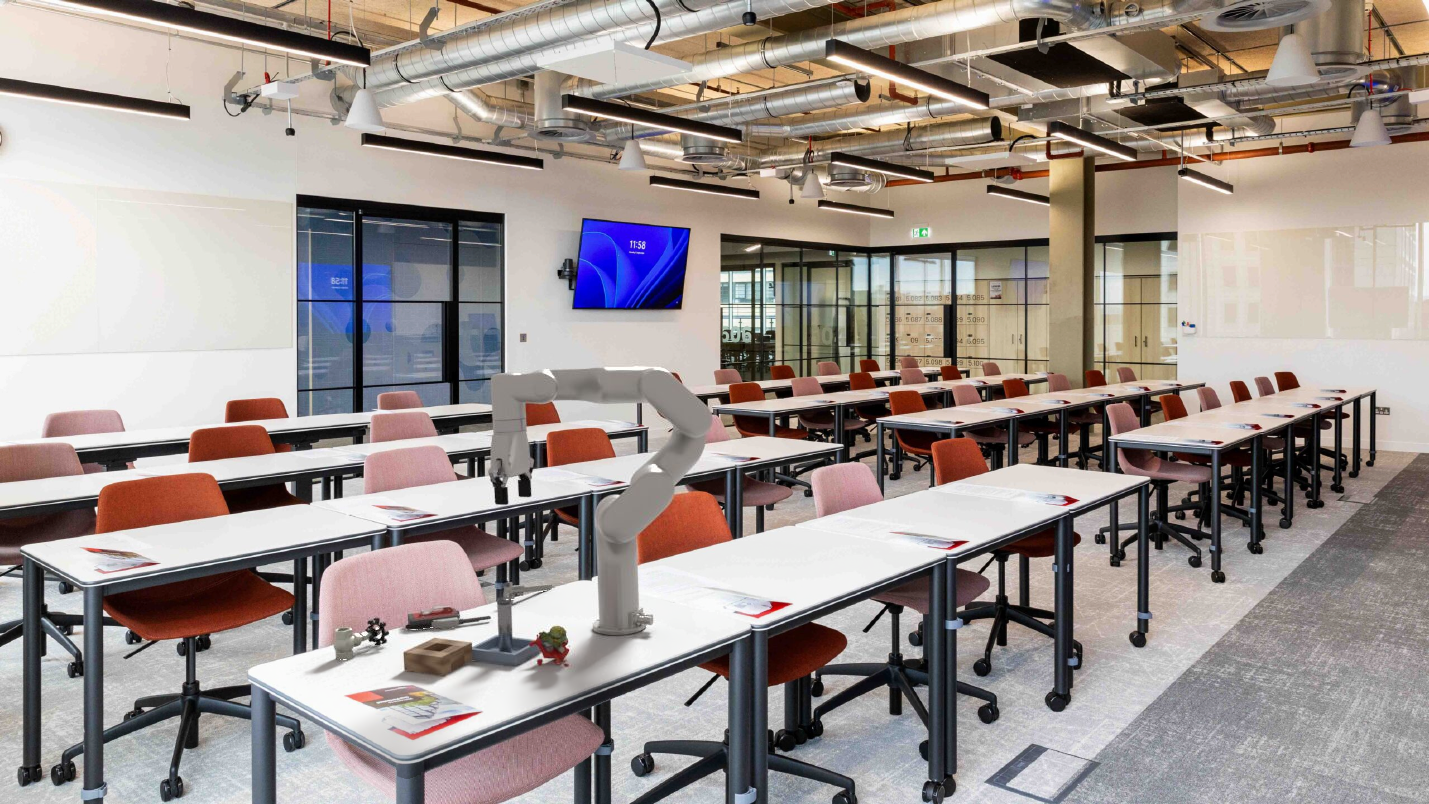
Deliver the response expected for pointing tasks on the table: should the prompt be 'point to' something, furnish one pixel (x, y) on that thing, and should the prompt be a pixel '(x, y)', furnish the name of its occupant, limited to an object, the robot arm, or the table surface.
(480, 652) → the tray
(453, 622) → the walkie-talkie
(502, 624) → the pin
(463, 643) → the socket block
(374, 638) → the valve
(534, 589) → the caliper
